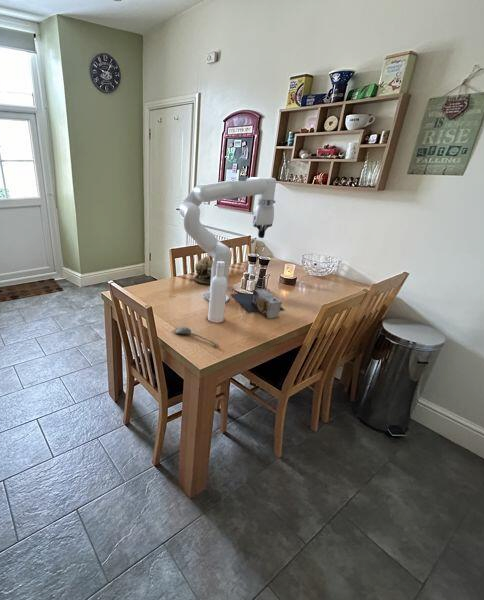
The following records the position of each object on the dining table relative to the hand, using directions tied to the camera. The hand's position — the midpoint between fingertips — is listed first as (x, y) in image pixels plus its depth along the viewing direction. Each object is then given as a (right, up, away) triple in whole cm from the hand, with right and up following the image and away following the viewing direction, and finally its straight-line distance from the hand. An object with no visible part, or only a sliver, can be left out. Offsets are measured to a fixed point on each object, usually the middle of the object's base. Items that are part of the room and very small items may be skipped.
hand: (260, 237), depth 179 cm
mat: (-1, -35, +6) cm, 36 cm away
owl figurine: (-26, -22, +37) cm, 50 cm away
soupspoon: (-39, -52, -32) cm, 72 cm away
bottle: (-27, -44, -14) cm, 54 cm away
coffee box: (+3, -40, -14) cm, 42 cm away
